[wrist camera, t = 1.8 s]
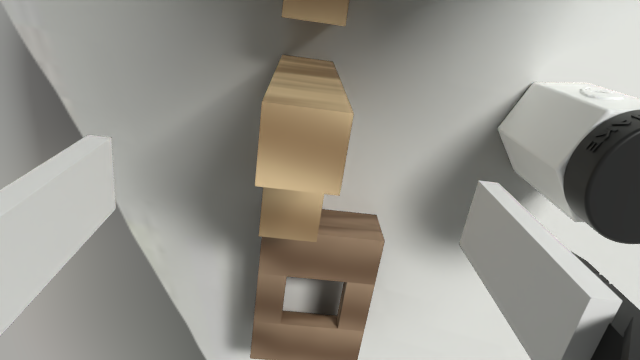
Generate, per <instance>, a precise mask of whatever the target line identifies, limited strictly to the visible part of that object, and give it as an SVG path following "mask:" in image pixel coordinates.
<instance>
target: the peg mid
mask: <svg viewBox="0 0 640 360" xmlns="http://www.w3.org/2000/svg"><path fill="white" fill-rule="evenodd" d="M323 198H324V194H320V193H312V192H303V191H294V190H285V189H276V188H267V187H263V195H262V205H261V216H260V227H259V236H261V237H271V238H281V239H290V240H300V241H310V242H317V236H318V230H319V223H320V217H321V211H322V204H323Z"/></svg>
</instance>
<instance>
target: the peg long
mask: <svg viewBox="0 0 640 360" xmlns="http://www.w3.org/2000/svg"><path fill="white" fill-rule="evenodd" d="M353 115H354V113H353V110H352V108H351V105H350V103H349V101H348V98H347V96H346V93H345V91H344V88H343V86H342V83H341V81H340V78H339V76H338V73H337V71H336V68H335V66H334V63H333V62H331V61H324V60H317V59H310V58H303V57H295V56H288V55H282V56H281V58H280V61H279V63H278V65H277V68H276V70H275V72H274V75H273V77H272V79H271V82H270V84H269V86H268V89H267V91H266V93H265V96H264V98H263V100H262V106H261V118H260V130H259V142H258V154H257V166H256V178H255V186H258V187H267V188H276V189H285V190H294V191H303V192H312V193H320V194H329V195H338V196H340V190H341V184H342V179H343V173H344V167H345V161H346V155H347V150H348V144H349V138H350V132H351V127H352V121H353Z"/></svg>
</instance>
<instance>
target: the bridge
mask: <svg viewBox="0 0 640 360" xmlns="http://www.w3.org/2000/svg"><path fill="white" fill-rule="evenodd" d="M384 242H385V241H384V238H383V234H382V231H381V228H380V225H379V222H378V219H377V215H370V214H361V213H352V212H343V211H334V210H325V209H322V211H321V217H320V223H319V230H318V236H317V242H310V241H300V240H290V239H281V238H271V237H262V240H261V250H260V260H259V271H258V281H257V292H256V302H255V312H254V323H253V333H252V344H251V354H250V358H252V359H265V360H357V359H358V355H359V350H360V346H361V342H362V337H363V333H364V329H365V324H366V320H367V316H368V311H369V307H370V303H371V298H372V294H373V290H374V285H375V281H376V277H377V272H378V268H379V264H380V259H381V255H382V251H383V246H384ZM287 276H288V277H298V278H309V279H319V280H329V281H340V282H344V283H343V288H342V293H341V298H340V303H339V309H338V314H337V316H335V315H324V314H312V313H301V312H290V311H282V309H283V301H284V293H285V285H286V277H287Z"/></svg>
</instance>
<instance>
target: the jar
mask: <svg viewBox="0 0 640 360" xmlns="http://www.w3.org/2000/svg"><path fill="white" fill-rule="evenodd" d="M498 132H499V134H500V137H501V139H502V142H503V144H504V147H505V149H506V152H507V154H508V157H509V160H510V162H511V165H512V167H513V170H514V171H515V172H516V173H517V174H518V175H519V176H521V177H522V178H523V179H524V180H525V181H527V182H528V183H529V184H530V185H531V186H532V187H534V188H535V189H536V190H537V191H538V192H540V193H541V194H542V195H543V196H544V197H546V198H547V199H548V200H549V201H550V202H552V203H553V204H554V205H555V206H556V207H557V208H559V209H560V210H561V211H562V212H563V213H565V214H566V215H567V216H568V217H569V218H570V219H572V220H573V221H574V222H586V223H587V224H588V225H589V226H590V227H592V228H593V229H594V230H595V231H597V232H598V233H599V234H601V235H602V236H604V237H605V238H607V239H610V240H612V241H615V242H619V243H625V244H640V99H639V98H636V97H633V96H630V95H626V94H623V93H620V92H617V91H613V90H610V89H607V88H603V87H600V86H597V85H594V84H590V83H570V82H534V83H533V84H532V85H531V86H530V87H529V89H528V90H527V91H526V93H525V94H524V95H523V96H522V98H521V99H520V100H519V101H518V103H517V104H516V105H515V107H514V108H513V109H512V110H511V112H510V113H509V114H508V115H507V117H506V118H505V119H504V121H503V122H502V123H501V124H500V126H499V127H498Z"/></svg>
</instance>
